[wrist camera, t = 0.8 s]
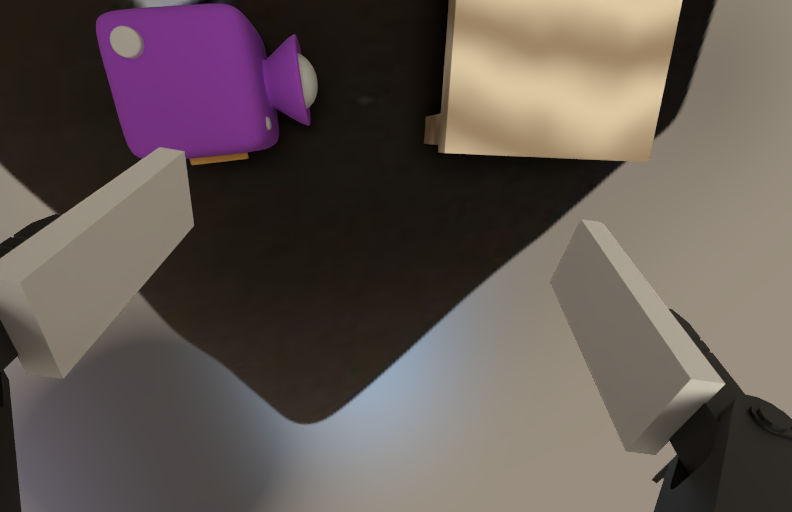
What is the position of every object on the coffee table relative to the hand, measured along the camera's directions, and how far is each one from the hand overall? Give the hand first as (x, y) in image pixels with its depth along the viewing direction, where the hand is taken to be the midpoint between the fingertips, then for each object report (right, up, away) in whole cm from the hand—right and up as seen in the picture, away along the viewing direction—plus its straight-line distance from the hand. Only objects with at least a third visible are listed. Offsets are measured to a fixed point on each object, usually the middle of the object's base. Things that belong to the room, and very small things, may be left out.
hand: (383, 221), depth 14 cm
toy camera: (-13, +13, +22) cm, 28 cm away
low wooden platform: (+11, +17, +24) cm, 31 cm away
